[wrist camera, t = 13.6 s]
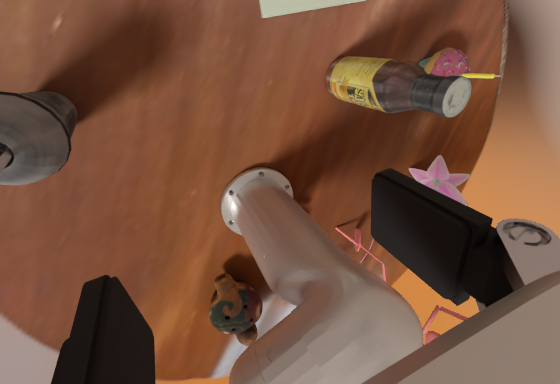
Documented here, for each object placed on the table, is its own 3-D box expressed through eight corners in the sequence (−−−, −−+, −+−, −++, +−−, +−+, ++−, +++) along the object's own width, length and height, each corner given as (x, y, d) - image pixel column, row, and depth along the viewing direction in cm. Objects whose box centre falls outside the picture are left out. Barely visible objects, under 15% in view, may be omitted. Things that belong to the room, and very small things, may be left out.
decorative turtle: (225, 327, 58) (232, 362, 51) (190, 278, 50) (192, 312, 43) (267, 303, 59) (279, 335, 52) (239, 253, 52) (249, 282, 45)
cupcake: (441, 40, 48) (516, 38, 39) (440, 88, 53) (507, 97, 43) (402, 58, 47) (470, 61, 37) (404, 106, 52) (465, 120, 42)
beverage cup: (11, 67, 29) (-164, 94, 12) (95, 89, 32) (45, 133, 16) (9, 135, 31) (-139, 233, 15) (88, 149, 35) (38, 240, 18)
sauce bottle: (316, 88, 43) (419, 112, 27) (336, 47, 42) (457, 48, 25) (346, 105, 47) (453, 137, 30) (364, 68, 45) (488, 81, 29)
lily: (421, 137, 58) (438, 161, 51) (469, 157, 60) (491, 183, 52) (388, 181, 65) (398, 207, 58) (431, 197, 67) (446, 225, 59)
